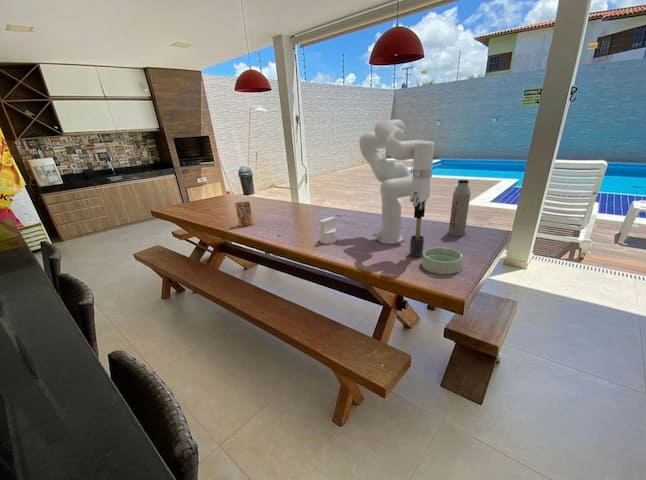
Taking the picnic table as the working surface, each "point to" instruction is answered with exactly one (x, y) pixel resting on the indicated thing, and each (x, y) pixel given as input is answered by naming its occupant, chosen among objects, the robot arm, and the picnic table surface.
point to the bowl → (442, 260)
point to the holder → (416, 246)
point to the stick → (418, 228)
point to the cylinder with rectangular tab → (327, 231)
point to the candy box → (244, 213)
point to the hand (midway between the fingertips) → (419, 216)
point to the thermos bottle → (459, 208)
